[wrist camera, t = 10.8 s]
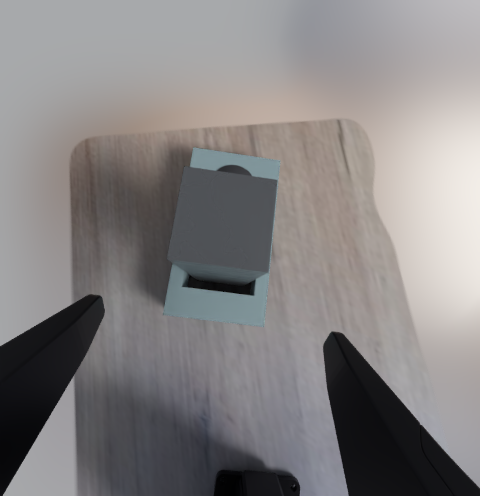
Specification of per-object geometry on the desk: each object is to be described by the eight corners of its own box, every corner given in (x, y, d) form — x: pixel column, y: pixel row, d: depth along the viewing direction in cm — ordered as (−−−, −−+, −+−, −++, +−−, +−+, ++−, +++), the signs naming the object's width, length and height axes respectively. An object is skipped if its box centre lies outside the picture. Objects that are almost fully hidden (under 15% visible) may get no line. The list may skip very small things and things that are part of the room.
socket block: (258, 322, 21) (264, 327, 18) (171, 312, 21) (162, 314, 18) (273, 177, 24) (280, 160, 21) (197, 165, 24) (193, 146, 21)
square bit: (242, 286, 22) (268, 272, 10) (198, 280, 22) (166, 259, 9) (247, 243, 23) (277, 179, 10) (205, 237, 22) (184, 166, 10)
